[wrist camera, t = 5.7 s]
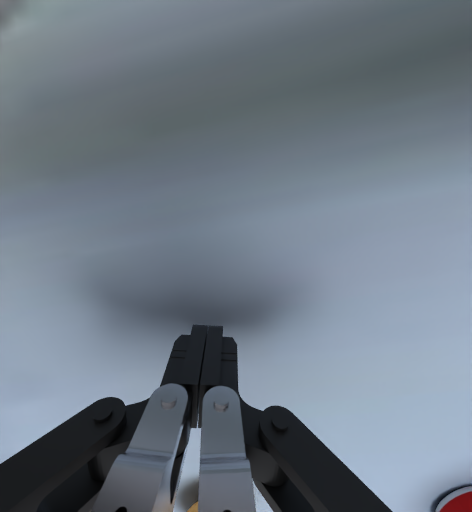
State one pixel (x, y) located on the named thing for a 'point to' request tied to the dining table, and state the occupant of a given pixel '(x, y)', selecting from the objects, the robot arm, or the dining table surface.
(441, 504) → the beverage can
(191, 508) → the ball
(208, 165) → the dining table surface
